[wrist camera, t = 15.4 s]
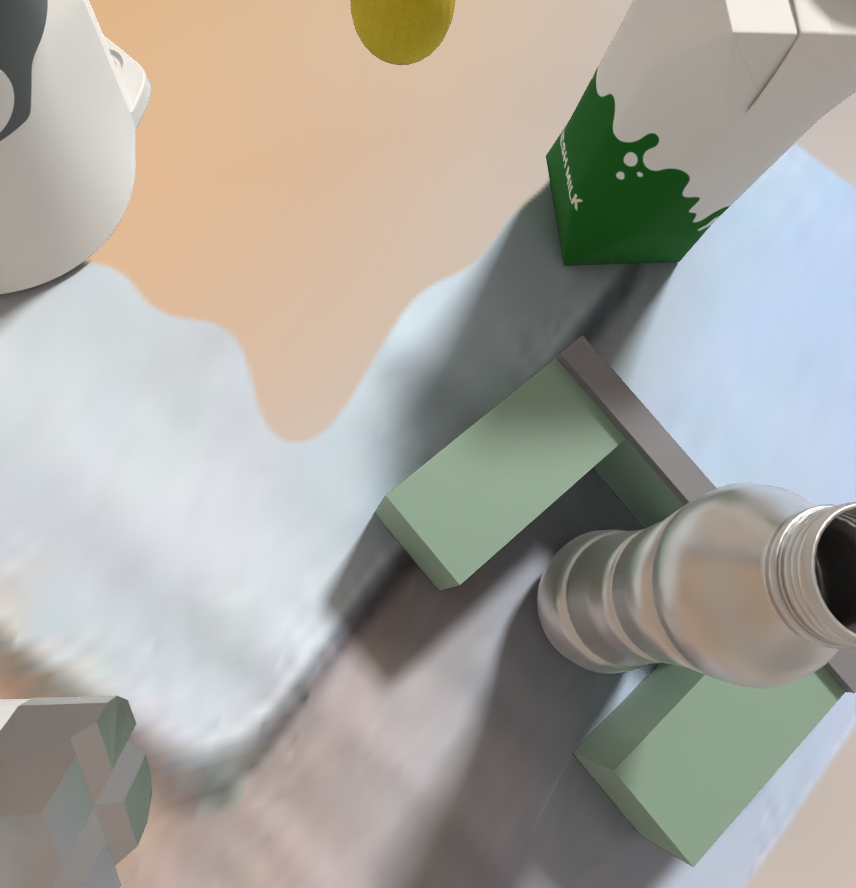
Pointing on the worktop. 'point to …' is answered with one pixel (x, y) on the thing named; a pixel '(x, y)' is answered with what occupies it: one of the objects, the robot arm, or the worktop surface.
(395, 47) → the lemon
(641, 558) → the plastic bottle
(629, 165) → the milk carton
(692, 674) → the green u-shaped bracket
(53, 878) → the robot arm
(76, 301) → the worktop surface
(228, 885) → the worktop surface
